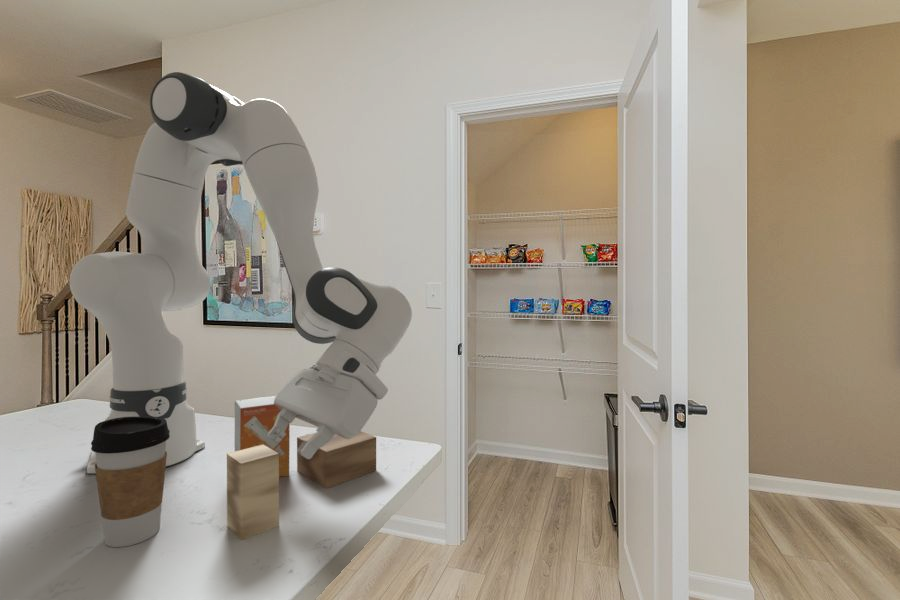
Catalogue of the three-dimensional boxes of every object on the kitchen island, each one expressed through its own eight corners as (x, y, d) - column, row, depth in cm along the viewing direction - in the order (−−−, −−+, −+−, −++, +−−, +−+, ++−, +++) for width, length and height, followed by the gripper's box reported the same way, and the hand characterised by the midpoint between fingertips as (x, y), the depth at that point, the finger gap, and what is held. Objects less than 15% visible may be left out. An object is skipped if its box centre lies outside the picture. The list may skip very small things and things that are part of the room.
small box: (239, 486, 73) (239, 407, 72) (234, 473, 78) (233, 399, 78) (290, 475, 77) (290, 401, 77) (282, 463, 82) (281, 394, 82)
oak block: (227, 525, 61) (226, 453, 60) (263, 512, 64) (263, 444, 64) (241, 540, 57) (241, 463, 57) (279, 525, 61) (278, 453, 61)
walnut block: (297, 470, 79) (297, 437, 79) (345, 455, 86) (345, 425, 86) (326, 488, 72) (326, 451, 72) (376, 470, 79) (376, 437, 79)
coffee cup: (120, 519, 62) (119, 413, 62) (183, 517, 63) (182, 412, 62) (74, 555, 54) (72, 432, 53) (147, 551, 54) (146, 431, 54)
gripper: (300, 352, 76) (242, 420, 69) (370, 366, 62) (306, 454, 55) (323, 374, 80) (270, 441, 73) (395, 393, 65) (338, 478, 59)
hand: (286, 447), depth 64 cm, fingers open, 8 cm apart
